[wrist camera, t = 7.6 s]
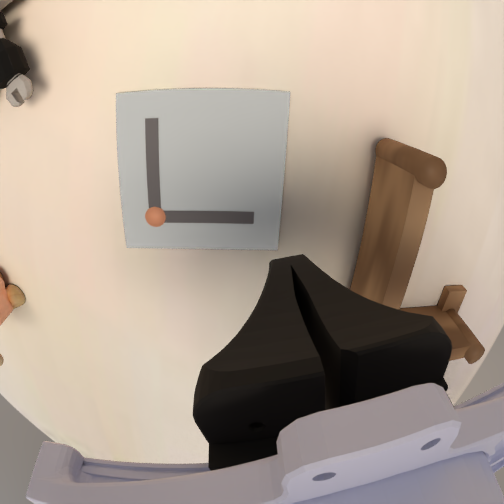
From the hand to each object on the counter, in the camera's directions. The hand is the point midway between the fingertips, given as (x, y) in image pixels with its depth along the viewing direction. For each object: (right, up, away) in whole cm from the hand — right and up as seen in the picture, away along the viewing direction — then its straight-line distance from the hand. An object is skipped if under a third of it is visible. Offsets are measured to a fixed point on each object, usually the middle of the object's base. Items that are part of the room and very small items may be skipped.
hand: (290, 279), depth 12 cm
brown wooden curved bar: (+6, +1, +6) cm, 8 cm away
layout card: (-4, +5, +4) cm, 8 cm away
